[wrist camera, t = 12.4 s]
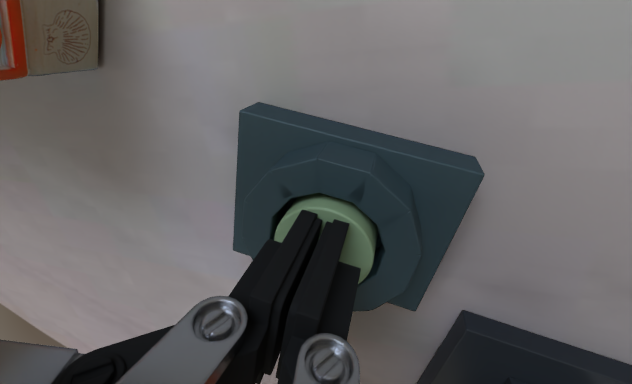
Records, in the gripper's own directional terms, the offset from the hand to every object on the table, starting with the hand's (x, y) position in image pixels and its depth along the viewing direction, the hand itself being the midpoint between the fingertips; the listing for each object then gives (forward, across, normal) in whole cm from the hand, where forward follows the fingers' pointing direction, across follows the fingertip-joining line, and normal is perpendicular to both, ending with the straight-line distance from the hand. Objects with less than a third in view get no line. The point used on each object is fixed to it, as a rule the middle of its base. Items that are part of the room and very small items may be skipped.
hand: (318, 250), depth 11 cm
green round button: (+2, 0, 0) cm, 2 cm away
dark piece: (+4, 0, 0) cm, 4 cm away
